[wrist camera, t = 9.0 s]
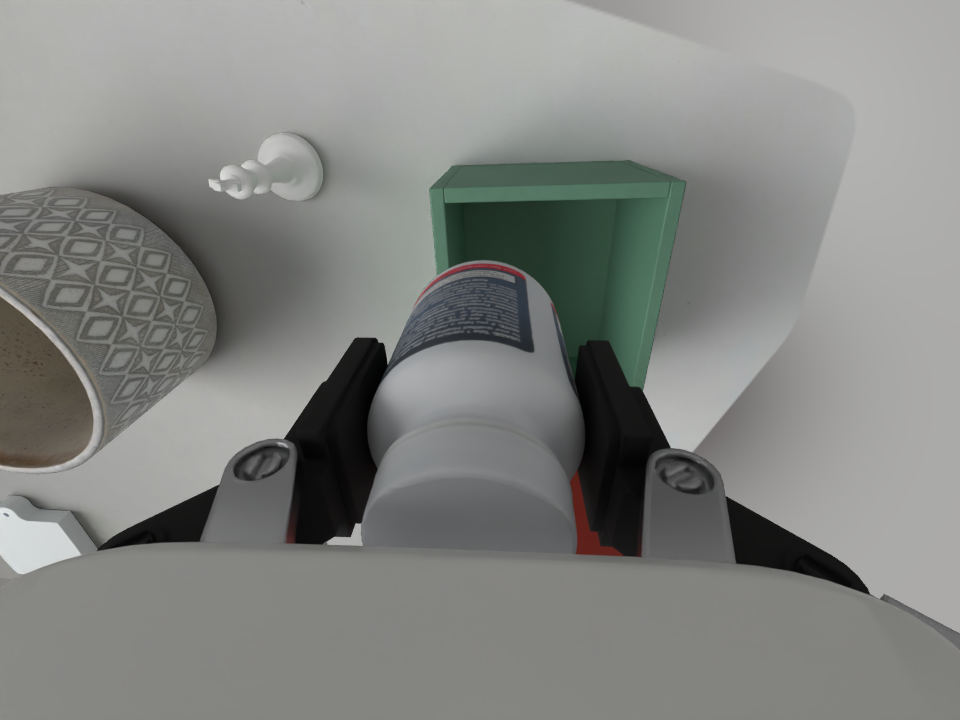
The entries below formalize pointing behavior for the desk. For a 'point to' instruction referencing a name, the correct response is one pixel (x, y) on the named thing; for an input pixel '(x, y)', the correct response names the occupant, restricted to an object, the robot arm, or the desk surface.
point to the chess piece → (275, 171)
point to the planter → (89, 324)
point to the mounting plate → (38, 535)
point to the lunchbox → (570, 242)
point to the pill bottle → (477, 421)
